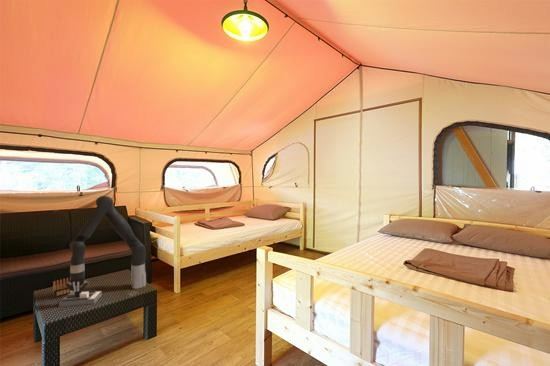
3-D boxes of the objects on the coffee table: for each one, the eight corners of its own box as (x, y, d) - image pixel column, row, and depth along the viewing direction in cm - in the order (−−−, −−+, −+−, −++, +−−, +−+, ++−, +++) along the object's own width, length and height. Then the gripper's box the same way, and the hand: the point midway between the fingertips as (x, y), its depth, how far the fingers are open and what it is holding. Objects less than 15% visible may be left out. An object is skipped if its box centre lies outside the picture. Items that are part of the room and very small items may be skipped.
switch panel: (101, 295, 182) (101, 289, 182) (94, 303, 170) (94, 297, 170) (69, 297, 177) (68, 292, 177) (58, 306, 166) (58, 300, 165)
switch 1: (79, 293, 177) (79, 288, 177) (77, 295, 174) (77, 290, 174) (72, 293, 176) (72, 289, 176) (70, 295, 173) (70, 291, 173)
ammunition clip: (53, 298, 176) (52, 281, 176) (52, 297, 177) (52, 280, 177) (72, 293, 184) (72, 276, 184) (72, 292, 185) (71, 275, 185)
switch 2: (88, 296, 173) (88, 291, 173) (86, 298, 170) (86, 293, 170) (82, 296, 172) (81, 292, 172) (79, 299, 170) (79, 294, 169)
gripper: (91, 267, 175) (91, 292, 176) (69, 269, 172) (69, 294, 173) (86, 272, 168) (86, 298, 168) (62, 273, 165) (62, 300, 165)
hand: (77, 296), depth 171 cm, fingers closed
